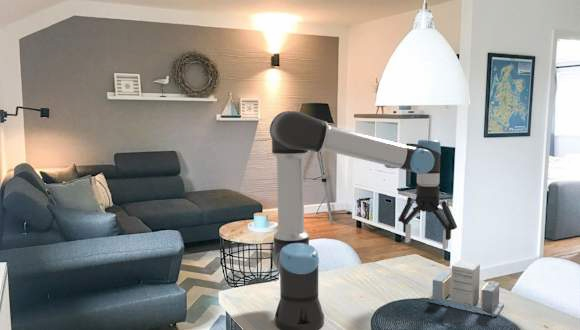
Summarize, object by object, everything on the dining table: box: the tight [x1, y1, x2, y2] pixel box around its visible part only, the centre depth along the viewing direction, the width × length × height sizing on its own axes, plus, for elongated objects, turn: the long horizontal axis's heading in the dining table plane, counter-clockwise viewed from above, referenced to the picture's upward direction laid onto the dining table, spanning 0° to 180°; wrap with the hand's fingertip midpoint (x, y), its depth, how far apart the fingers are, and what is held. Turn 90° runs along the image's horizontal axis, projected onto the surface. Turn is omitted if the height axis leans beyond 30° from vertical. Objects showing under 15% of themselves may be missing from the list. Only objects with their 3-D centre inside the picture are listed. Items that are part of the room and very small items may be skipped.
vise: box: [428, 280, 505, 316], centre depth 161 cm, size 11×22×8 cm, turn 55°
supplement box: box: [451, 260, 481, 306], centre depth 161 cm, size 7×7×13 cm
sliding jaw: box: [431, 271, 452, 300], centre depth 165 cm, size 10×4×7 cm, turn 145°
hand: (425, 245), depth 167 cm, fingers open, 13 cm apart
